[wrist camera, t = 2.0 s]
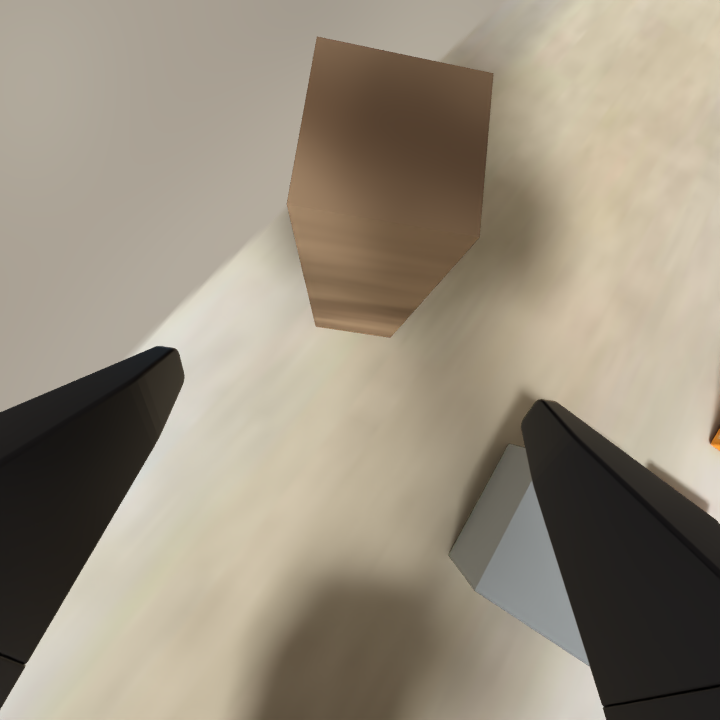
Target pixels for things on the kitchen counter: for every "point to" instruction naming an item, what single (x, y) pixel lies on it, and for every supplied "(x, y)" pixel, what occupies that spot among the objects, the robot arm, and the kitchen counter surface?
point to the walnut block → (385, 181)
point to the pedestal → (517, 555)
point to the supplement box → (716, 441)
